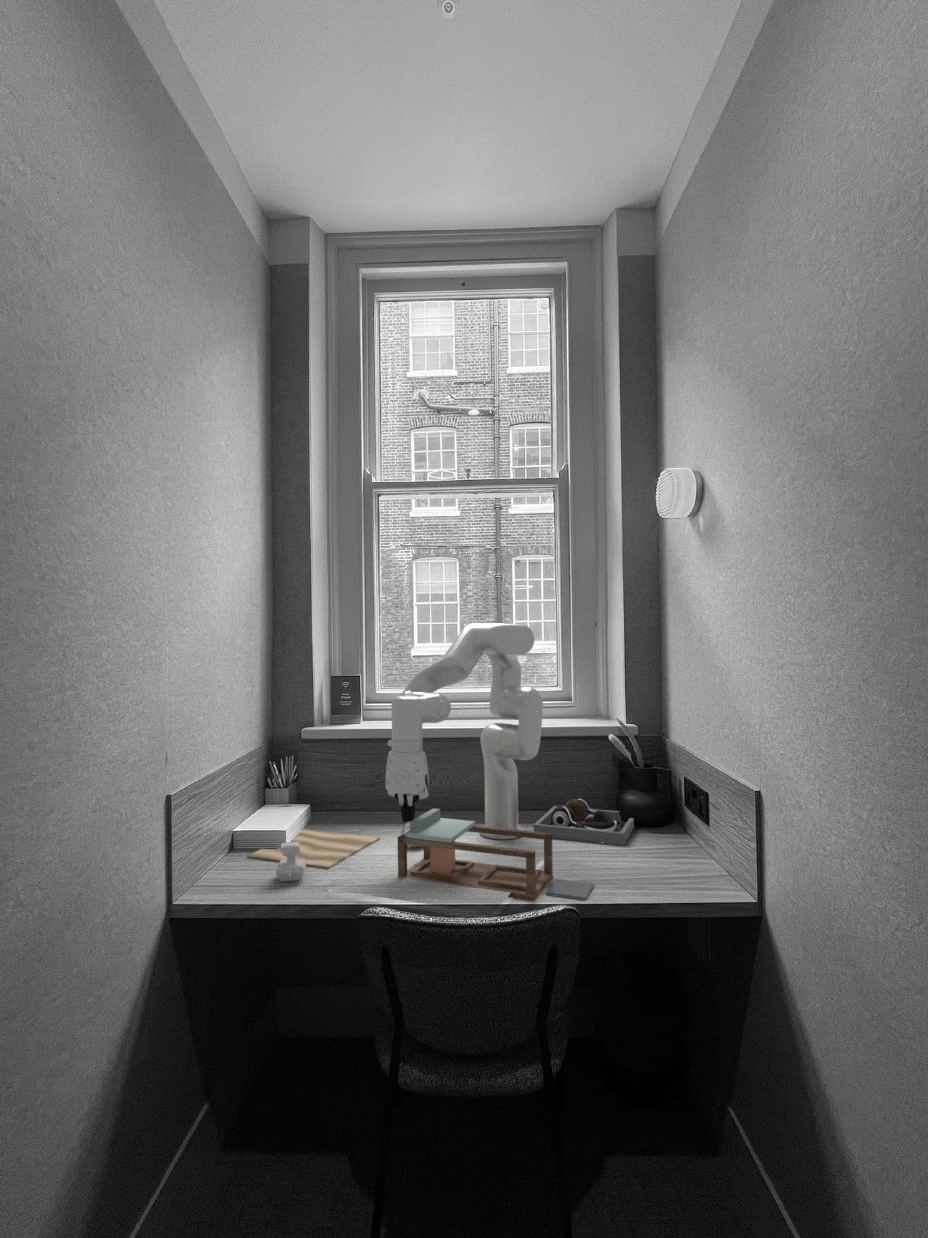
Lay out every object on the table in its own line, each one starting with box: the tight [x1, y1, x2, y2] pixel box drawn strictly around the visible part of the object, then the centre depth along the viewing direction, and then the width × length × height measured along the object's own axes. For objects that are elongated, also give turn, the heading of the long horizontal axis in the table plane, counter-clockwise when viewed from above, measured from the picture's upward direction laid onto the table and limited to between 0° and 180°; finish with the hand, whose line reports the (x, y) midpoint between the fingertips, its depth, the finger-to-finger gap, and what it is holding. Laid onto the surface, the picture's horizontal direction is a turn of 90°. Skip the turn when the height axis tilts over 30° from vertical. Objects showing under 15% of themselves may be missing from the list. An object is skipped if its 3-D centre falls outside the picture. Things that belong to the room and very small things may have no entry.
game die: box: [397, 822, 424, 849], centre depth 194 cm, size 9×8×10 cm
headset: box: [551, 798, 626, 831], centre depth 210 cm, size 17×8×20 cm
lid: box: [408, 808, 476, 843], centre depth 174 cm, size 15×11×4 cm
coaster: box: [544, 878, 595, 901], centre depth 163 cm, size 9×9×1 cm
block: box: [430, 840, 456, 874], centre depth 174 cm, size 4×4×7 cm
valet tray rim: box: [533, 805, 635, 846], centre depth 210 cm, size 22×25×3 cm
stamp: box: [275, 842, 307, 882], centre depth 173 cm, size 9×7×8 cm
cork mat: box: [246, 828, 381, 869], centre depth 196 cm, size 26×25×1 cm
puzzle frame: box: [397, 824, 554, 902], centre depth 171 cm, size 16×33×10 cm, turn 68°
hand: (408, 820), depth 178 cm, fingers closed
